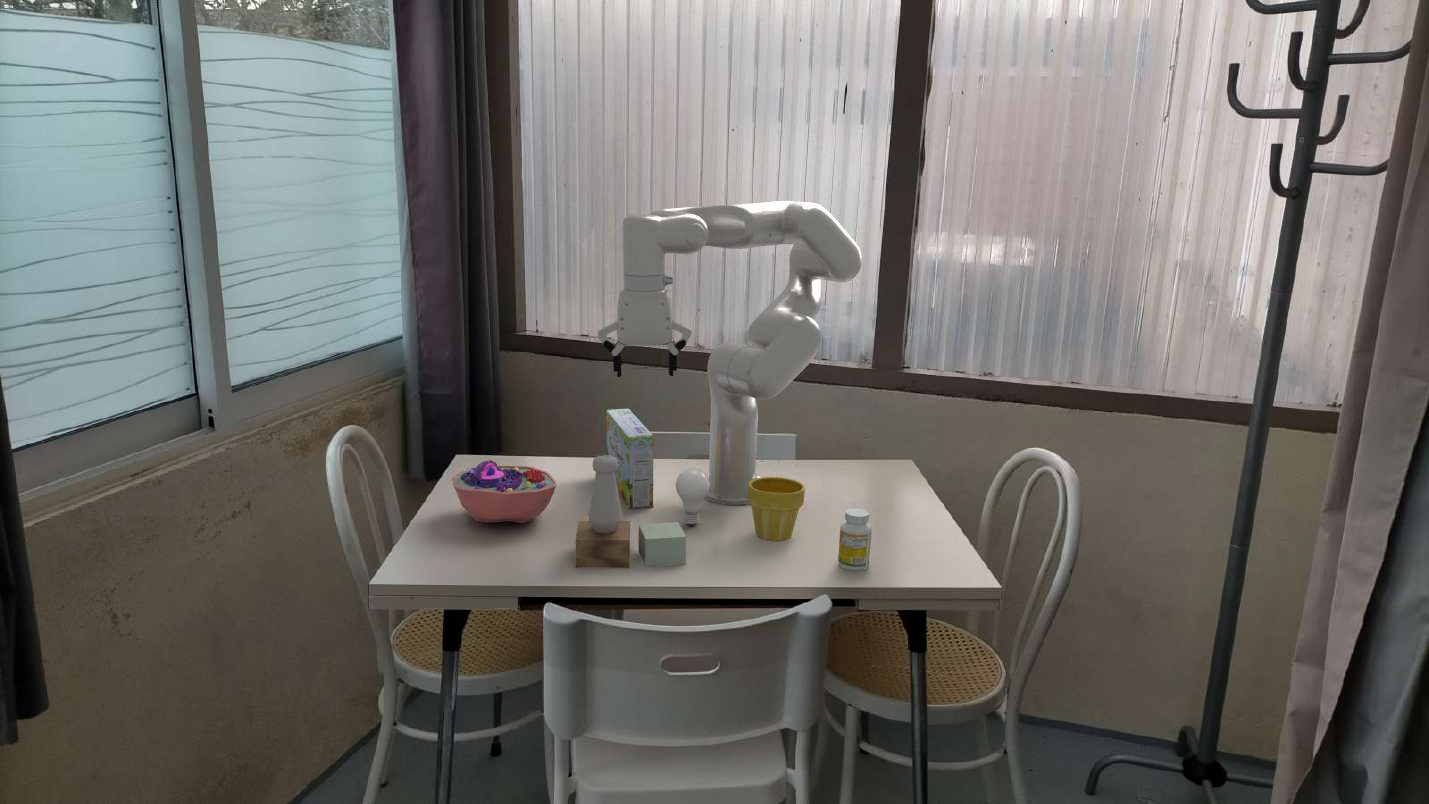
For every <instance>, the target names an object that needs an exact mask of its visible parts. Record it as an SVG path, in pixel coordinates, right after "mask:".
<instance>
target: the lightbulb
mask: <svg viewBox="0 0 1429 804" xmlns="http://www.w3.org/2000/svg"><path fill="white" fill-rule="evenodd" d="M675 481H676V482H675V491H676V493H677V495H678V496H679V498H680V499H681V501H682V506H683V509H684V523H685V524H687V525H689V526H695V525H697V524H699V522H700V521H699V519H700V510H701V508H702V504H703V502H704V500H705V497H706V496H707V494H708V492H709V489H710V482H709V476H708V475H707V474H706V473H705V472H704V471H703V470H701V469H699V468H695V467H693V468H690V467H689V468H686V469H684V470H683V471H682V472H680V473H679V474H678V476H677V478H676V480H675Z"/></svg>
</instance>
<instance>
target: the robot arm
mask: <svg viewBox="0 0 1429 804" xmlns="http://www.w3.org/2000/svg"><path fill="white" fill-rule="evenodd" d="M780 245H792V247H791V249H790V253H789V259H788V260H789V261H788V262H789V265H788V267H789V273H788V274H789V275H788V281H787V285H786V287H785V288H784V289H783V291H781V292H780V294H779V295H778V296H777V297H776V298H775V299H774V300H773V301H772V302H771V303H770V304H768V306H766V308H764V310H762V312H761V313H760V314H758V315H757V316H756V317H755V319H753V321H752V322H751V323H750V325H749V327H748V329H747V336H746V338H747V340H748V344H750V345H748V344H743V343H741V342H735V341H731V342H724V343H722V344H720V345H718V346H717V347H714V349H713V351H711V354H710V355H709V357H708V361H707V378H708V379H707V380H708V385H709V391H710V392H709V393H710V425H709V426H710V427H709V428H710V431H709V462H708V464H709V465H708V479H709V482H710V489H709V492H708V494H707V496H706V497H705V498H704V500H707V501H709V502H712V503H717V504H722V505H731V506H732V505H734V506H735V505H747V504H750V503H749V502H748V484H749V482H750V481H751V480H753V479H756V478H762V477H761V476H759V475H758V474H757V472H756V471H757V470H756V462H757V445H758V444H757V442H758V441H757V440H758V423H759V409H758V402H757V400H759V401H761V400H763V401H765V400H766V401H767V400H771V399H773V398H775V397H776V396H777V395H780V394H781V393H782V392H783V391H784V390H785V389H786V388H787V387H788V386H789V385H790V384H791V383H792V382H793V381H794V380H795V379H796V378H797V376H799V375H800V373H802V372H803V371H804V369H806V367H808V366H809V364H810V363H811V362H812V361H813V360H814V359H815V357H816V355H817V353H818V352H819V349H820V347H821V342H822V333H821V328H820V325H818V323H817V322H816V321H815V320H814V319H815V318H816V317H817V315H818V313H819V312H820V310H821V307H822V301H823V299H822V297H823V293H822V291H823V290H822V280H824V281H829V282H834V283H847V282H849V281H852V280H853V279H854V278H856V277H857V275H858V274H859V273H860V271H861V268H862V263H863V258H862V253H861V250H860V247H859V245H858V244H857V243H856V242H855V240H854V239H853V238H852V237H851V236H850V234H849V233H848V232H847V231H846V229H844V228H843V226H842V225H841V224H840V223H839V221H838V220H837V219H836V218H835V217H834V216H833V215H832V214H831V213H830V212H829V210H827V209H826V208H824V206H821V205H820V204H818V203H816V202H815V203H814V202H808V201H807V202H805V201H797V200H796V201H795V200H777V201H776V200H775V201H766V202H765V201H764V202H753V203H750V202H749V203H738V204H737V203H736V204H721V205H719V204H718V205H712V206H710V205H709V206H691V207H675V208H664V209H663V208H662V209H656V210H654V211H652V212H651V213H649V214H645V213H643V214H642V213H641V214H630V215H627V216H625V217H624V219H623V221H622V258H623V259H622V264H623V266H622V267H623V268H622V269H623V271H622V272H623V273H622V274H623V289H620V290H619V294H618V298H617V310H616V311H617V312H616V321H614V322H612V323H610V324H609V325H607V326H604V327H603V328H601V329H599V330H598V331H597V336H598V338H599V340H600V342H601V343H602V346H603V347H604V348H605V349H606V350H607V351H608V352H609V353H610V354H611V355H612V357H613V360H612V361H613V363H612V364H613V365H612V366H613V372H614V373H616V374H617V375H616V376H617V378H621V377H622V355H621V353H620V352H622V350H623V349H624V348H625V346H626V347H641V346H642V347H644V346H649V347H650V346H651V347H652V346H654V347H655V346H665V347H666V348H667V349H668V351H669V352H668V356H667V357H668V363H667V364H668V375H669V376H670V377H674V372H675V371H677V370H678V366H677V365H678V361H677V360H678V358H677V357H678V354H679V352H681V351H682V349H683V348H685V347H686V346H687V343H688V342H689V340H690V337H691V336H692V334H693V332H692V330H691V329H690V328H689V327H686V326H684V325H682V324H680V323H678V322H676V321H674V320H673V315H672V304H671V296H670V292H669V290H668V289H666V287H667V286H669V285H673V283H674V282H673V281H674V279H673V278H674V277H673V276H670V277H669V276H667V274H665V273H666V271H665V270H666V265H665V263H666V262H665V259H666V258H665V255H666V254H673V255H692V254H696V253H698V252H700V251H701V250H702V249H703V248H704V247H713V248H720V249H731V250H734V249H735V250H736V249H737V250H738V249H739V250H742V249H749V248H750V249H752V248H759V247H767V246H780ZM673 330H674V331H676V332H678V333H680V334H681V337H680V339H679V340H678V341H677V342H676V343H674V342H673V341H672V339H673ZM615 331H616V336H617V341H616V343H615V344H614V343H612V342H611V341H610V340H609V338H608V335H610V334H611V333H613V332H615Z"/></svg>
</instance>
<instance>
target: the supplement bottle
mask: <svg viewBox="0 0 1429 804" xmlns="http://www.w3.org/2000/svg"><path fill="white" fill-rule="evenodd" d="M869 518H870V513H869V512H868V511H867V510H865V509H861V508H848V509H847V510H845V514H844V521H843V522H842V523H841V524H840V527H839V529H840V530H839V541H838V556H837V558H838V559H837V560H838V561H837V562H838V565H839V566H840V567H841V568H842V569H845V570H849V571H863V570H866V569H867V568H869V566H870V558H871V557H870V554H871V543H872V542H871V541H872V531H873V530H872V526H871V525H870V524H869V523H868V522H869V520H870V519H869Z"/></svg>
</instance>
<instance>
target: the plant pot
mask: <svg viewBox="0 0 1429 804" xmlns="http://www.w3.org/2000/svg"><path fill="white" fill-rule="evenodd" d="M805 491H806V487H805V485H804V484H803V483H802V482H800V481H797V480H796V479H791V478H787V477H781V476H780V477H779V476H763V477H762V478H756V479H753V480H751V481H750V482H749V484H748V502H749V503H748V504H749V505H751V512H752V518H753V524H754V526H753V527H754V531H755V535H756V536H757V537H758V538H759V539H761V540H764V541H768V542H783V541H788V540H789V539H791V538H792V536H793V532H794V528H795V525H796V521H797V517H798V514H799V510H800V509H801V507H803V505H804V502H805Z"/></svg>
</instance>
